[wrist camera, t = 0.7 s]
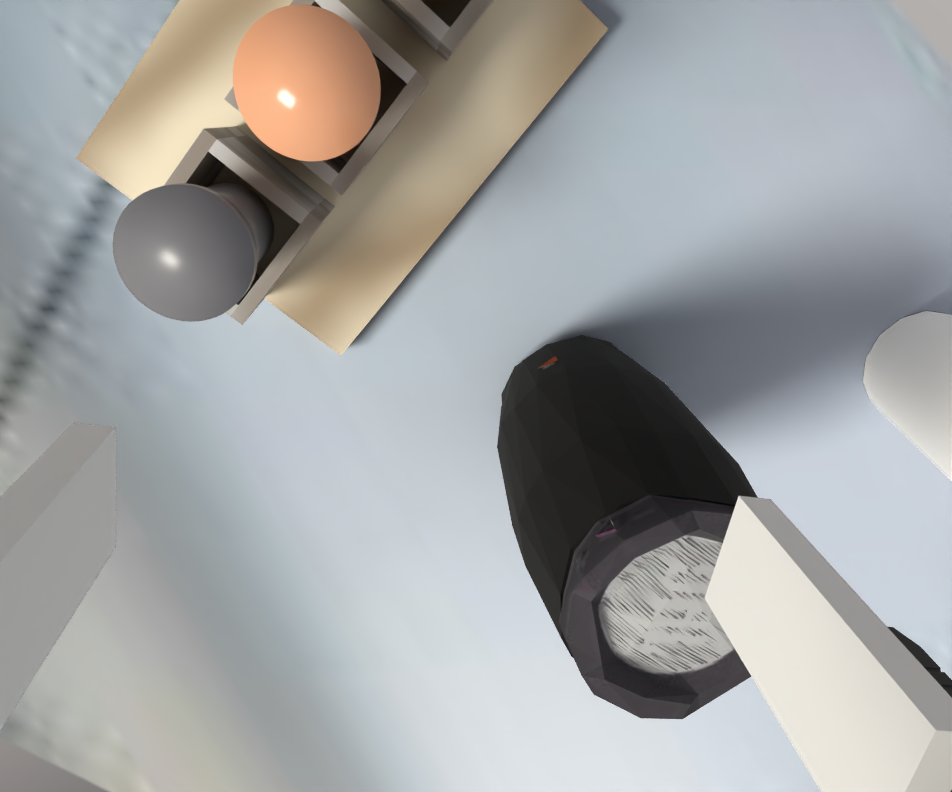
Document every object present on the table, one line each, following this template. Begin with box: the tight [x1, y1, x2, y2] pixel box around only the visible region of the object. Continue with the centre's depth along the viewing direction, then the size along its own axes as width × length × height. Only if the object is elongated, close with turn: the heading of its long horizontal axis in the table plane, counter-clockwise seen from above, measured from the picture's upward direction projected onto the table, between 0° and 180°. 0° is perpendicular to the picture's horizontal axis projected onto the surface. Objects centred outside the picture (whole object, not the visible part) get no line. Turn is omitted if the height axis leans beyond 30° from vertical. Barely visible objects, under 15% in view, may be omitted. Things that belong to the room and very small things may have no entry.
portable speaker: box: [497, 335, 758, 719], centre depth 33 cm, size 9×9×20 cm
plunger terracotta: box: [233, 5, 381, 161], centre depth 27 cm, size 5×5×7 cm
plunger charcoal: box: [113, 183, 274, 321], centre depth 29 cm, size 5×5×7 cm
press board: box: [76, 0, 608, 355], centre depth 32 cm, size 15×20×7 cm
